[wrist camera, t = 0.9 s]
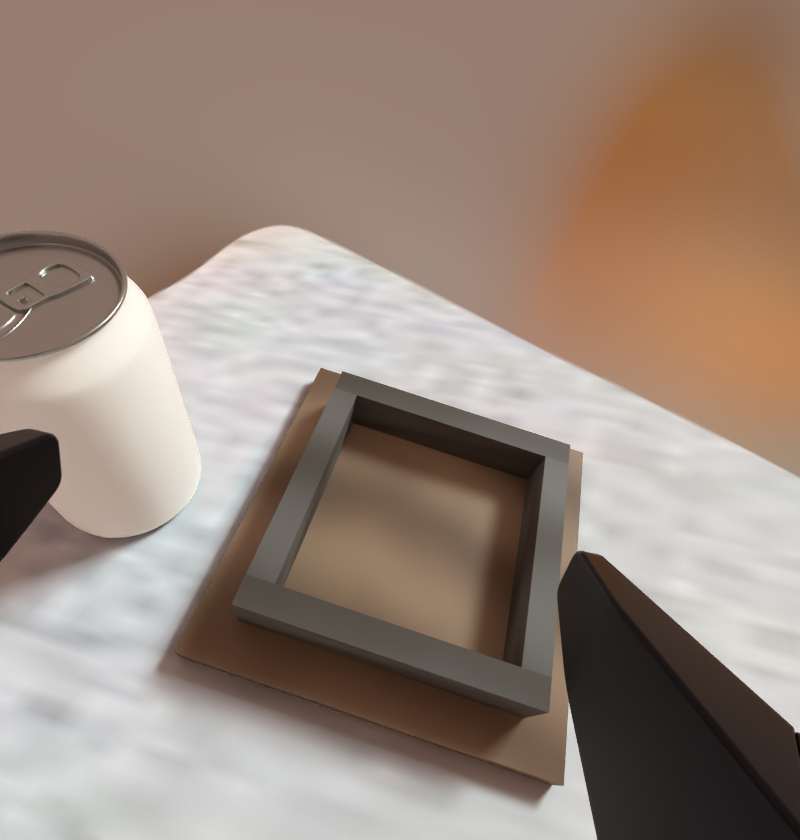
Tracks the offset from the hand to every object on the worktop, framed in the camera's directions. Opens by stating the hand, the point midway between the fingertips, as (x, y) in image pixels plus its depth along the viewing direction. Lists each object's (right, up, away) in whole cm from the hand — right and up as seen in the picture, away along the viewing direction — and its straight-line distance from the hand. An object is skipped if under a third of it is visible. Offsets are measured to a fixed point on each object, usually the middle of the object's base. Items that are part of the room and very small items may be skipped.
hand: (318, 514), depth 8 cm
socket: (+2, -4, +16) cm, 17 cm away
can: (-12, -1, +16) cm, 20 cm away
